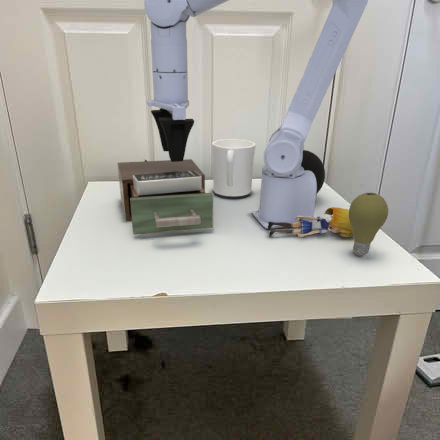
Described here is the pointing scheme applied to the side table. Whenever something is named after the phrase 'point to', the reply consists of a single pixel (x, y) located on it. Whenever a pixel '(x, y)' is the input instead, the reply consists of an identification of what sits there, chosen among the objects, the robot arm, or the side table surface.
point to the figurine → (318, 224)
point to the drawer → (171, 211)
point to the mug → (232, 167)
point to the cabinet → (144, 167)
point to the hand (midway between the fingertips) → (172, 155)
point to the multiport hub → (167, 182)
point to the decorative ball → (314, 167)
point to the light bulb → (366, 220)
